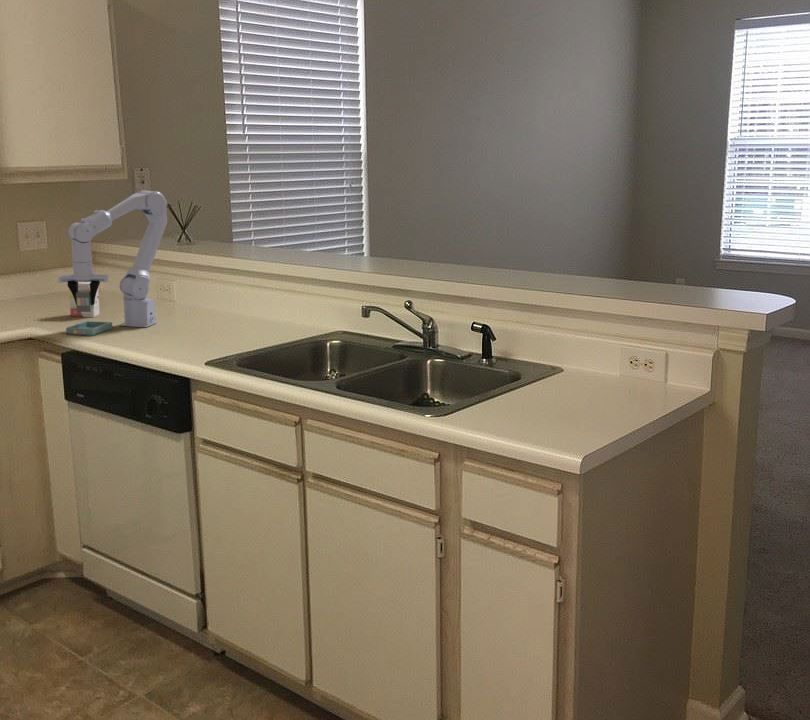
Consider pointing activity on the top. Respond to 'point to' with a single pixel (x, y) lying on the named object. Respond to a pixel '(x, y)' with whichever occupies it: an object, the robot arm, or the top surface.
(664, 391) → the top surface
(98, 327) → the service tray
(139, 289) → the robot arm
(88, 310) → the block
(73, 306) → the ink cartridge box
